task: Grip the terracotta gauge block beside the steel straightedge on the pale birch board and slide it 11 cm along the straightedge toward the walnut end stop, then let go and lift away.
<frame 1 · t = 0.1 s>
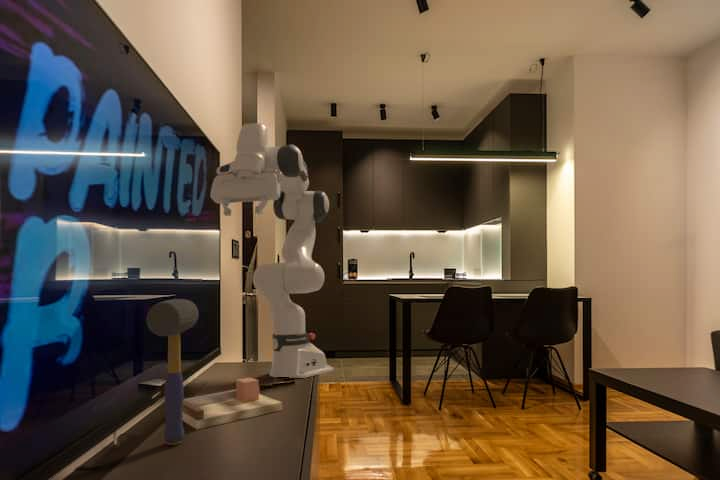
hand: (242, 214, 136), 52 cm above the table, tool tilted 20°, fingers open, 8 cm apart
gauge block: (247, 399, 128), point 2 cm above the table, touching birch board
steel straightedge: (220, 408, 127), resting on birch board
rubber mallet: (174, 444, 101), on the table
birch board: (230, 413, 122), on the table
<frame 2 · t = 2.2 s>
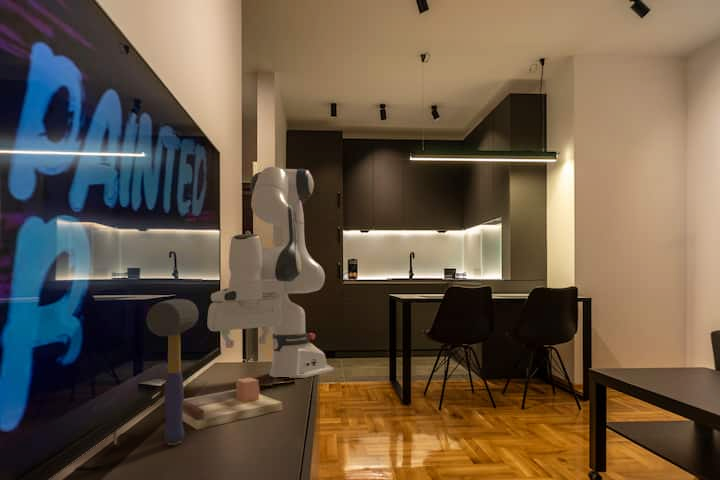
hand: (246, 345, 128), 16 cm above the table, tool pointing down, fingers open, 8 cm apart
nothing on the table moved.
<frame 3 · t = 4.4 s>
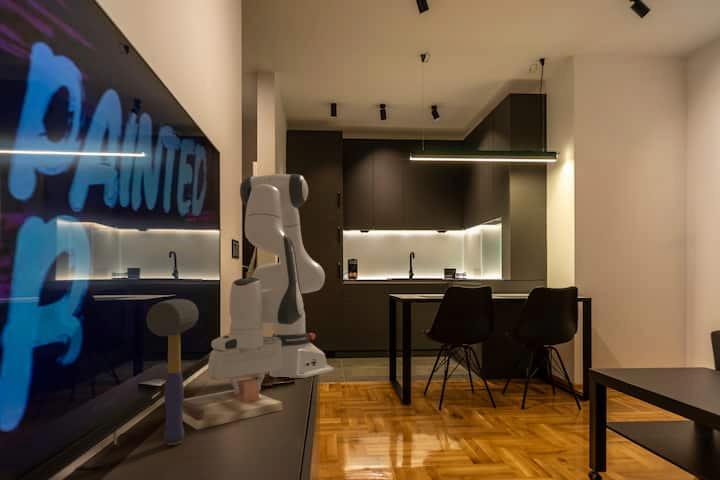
hand: (247, 391, 128), 4 cm above the table, tool pointing down, fingers closed on gauge block, 4 cm apart
gauge block: (247, 399, 128), point 2 cm above the table, touching birch board, gripper
everything else where it was.
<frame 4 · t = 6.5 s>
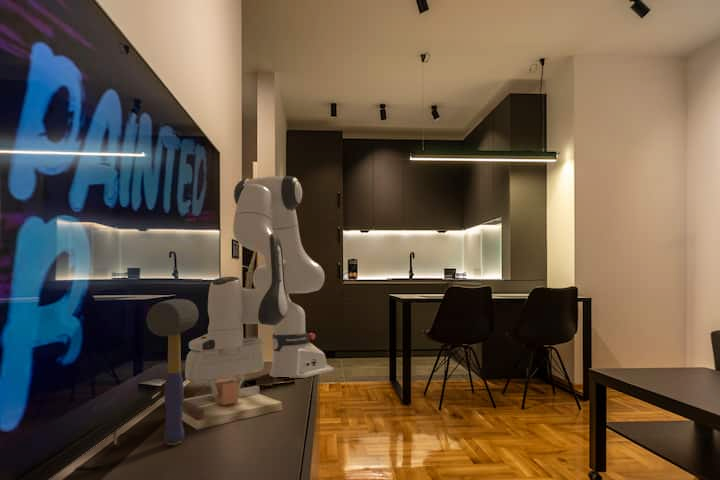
hand: (226, 394, 124), 4 cm above the table, tool pointing down, fingers closed on gauge block, 4 cm apart
gauge block: (226, 401, 124), point 2 cm above the table, touching gripper
everything else where it was.
when the fingers open (4 cm above the table, at t = 8.7 s): gauge block stays where it is, resting on birch board.
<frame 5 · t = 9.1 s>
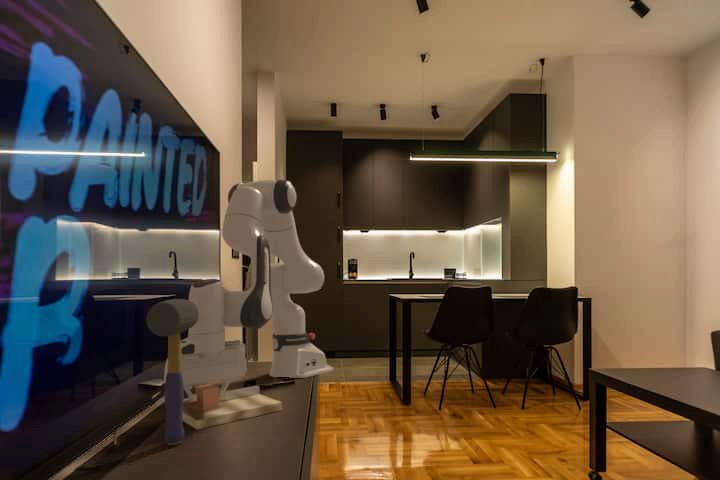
hand: (207, 399, 121), 4 cm above the table, tool pointing down, fingers open, 6 cm apart
gauge block: (207, 407, 121), point 2 cm above the table, touching birch board
everything else where it was.
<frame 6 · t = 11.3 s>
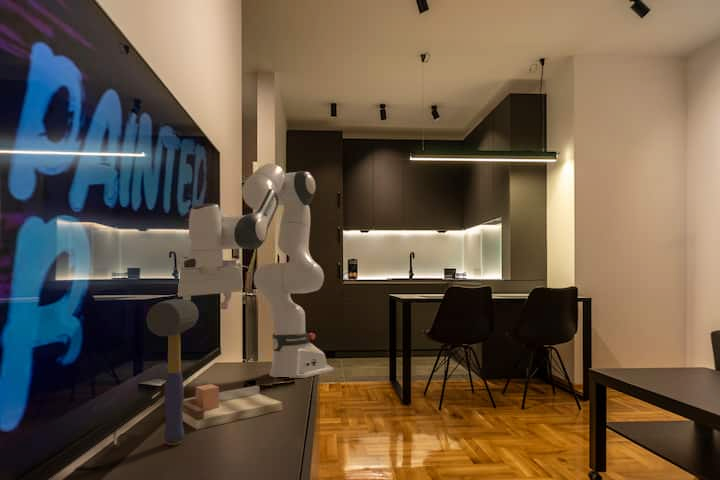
hand: (208, 310, 135), 25 cm above the table, tool pointing down, fingers open, 8 cm apart
nothing on the table moved.
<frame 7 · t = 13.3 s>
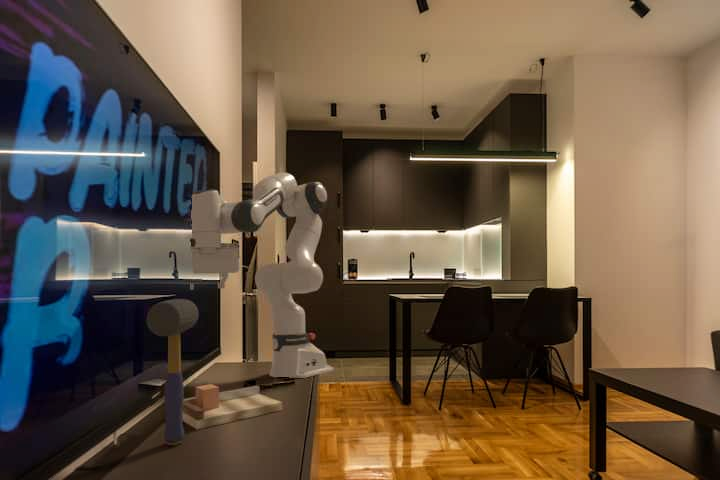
hand: (206, 289, 144), 31 cm above the table, tool pointing down, fingers open, 8 cm apart
nothing on the table moved.
at the end: gauge block 0.9 cm from the target spot, point 2.0 cm above the table; gauge block tilted 0°; the gripper is holding nothing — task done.
